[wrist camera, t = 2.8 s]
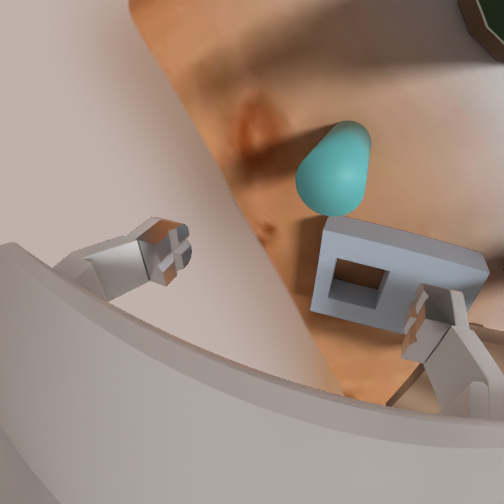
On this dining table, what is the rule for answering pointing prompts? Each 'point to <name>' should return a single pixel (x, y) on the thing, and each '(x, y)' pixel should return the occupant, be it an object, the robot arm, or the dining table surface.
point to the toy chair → (419, 385)
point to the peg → (336, 170)
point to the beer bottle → (486, 24)
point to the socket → (389, 271)
